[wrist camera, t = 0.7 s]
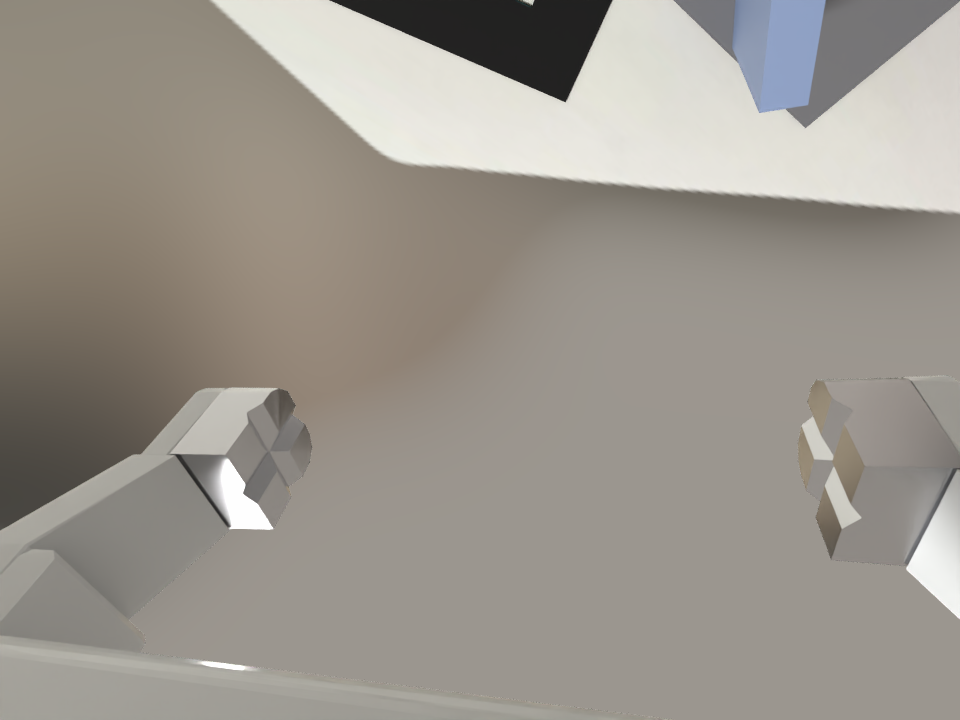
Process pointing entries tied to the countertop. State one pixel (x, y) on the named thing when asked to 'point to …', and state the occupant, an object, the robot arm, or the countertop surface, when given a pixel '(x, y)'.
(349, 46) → the countertop surface
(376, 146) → the countertop surface
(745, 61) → the card deck
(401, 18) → the sushi
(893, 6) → the rubber mat
